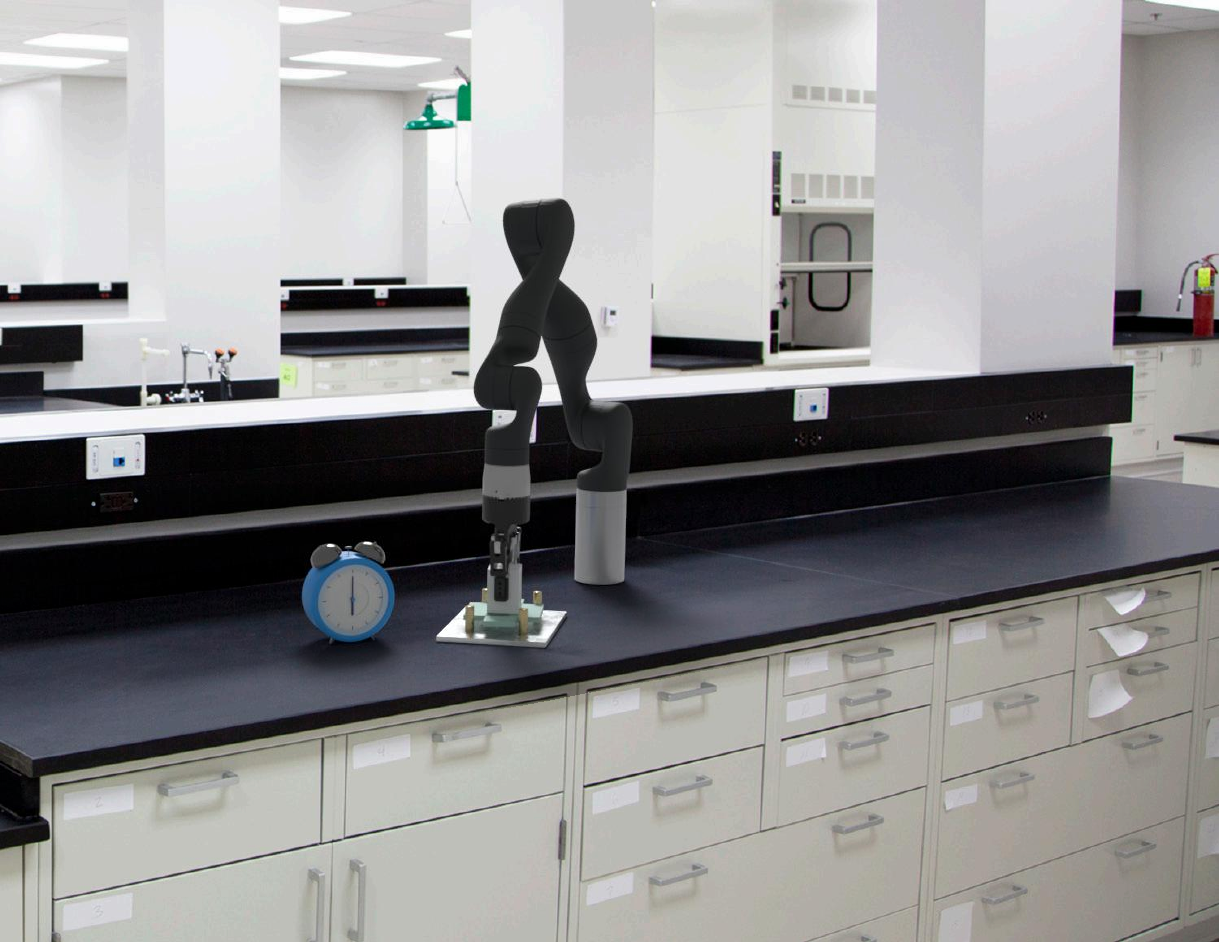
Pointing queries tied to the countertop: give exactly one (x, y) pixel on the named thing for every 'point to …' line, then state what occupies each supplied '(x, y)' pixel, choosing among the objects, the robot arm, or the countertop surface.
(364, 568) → the alarm clock
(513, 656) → the countertop surface
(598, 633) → the countertop surface
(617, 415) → the robot arm
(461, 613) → the chassis plate
